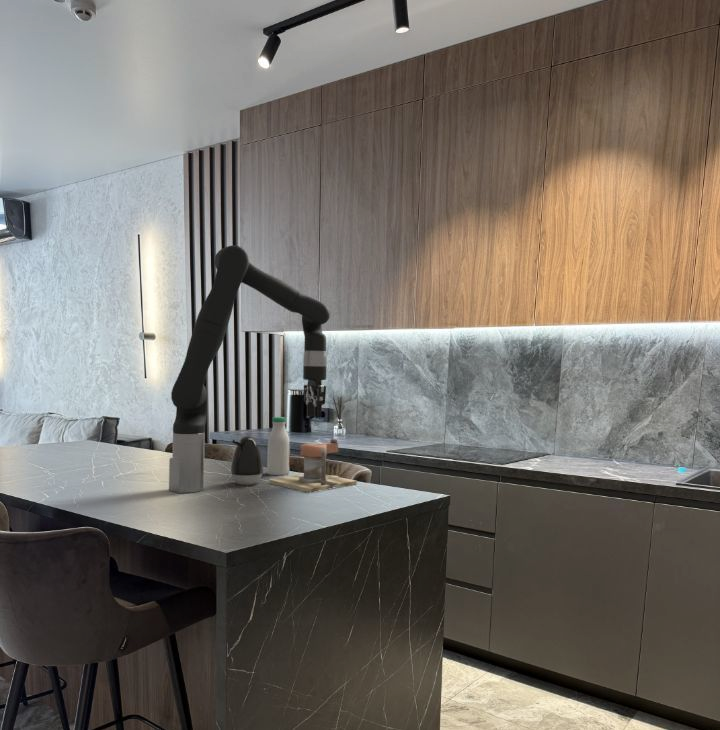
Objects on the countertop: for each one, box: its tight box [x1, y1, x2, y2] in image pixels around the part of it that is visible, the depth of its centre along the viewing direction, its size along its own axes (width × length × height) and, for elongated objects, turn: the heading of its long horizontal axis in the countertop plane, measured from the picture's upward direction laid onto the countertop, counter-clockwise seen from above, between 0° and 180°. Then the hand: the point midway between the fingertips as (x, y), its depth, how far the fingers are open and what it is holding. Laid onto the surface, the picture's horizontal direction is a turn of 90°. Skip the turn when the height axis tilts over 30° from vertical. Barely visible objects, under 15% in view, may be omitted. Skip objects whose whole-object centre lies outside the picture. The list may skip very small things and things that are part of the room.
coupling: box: [299, 438, 339, 457], centre depth 193 cm, size 14×8×4 cm, turn 135°
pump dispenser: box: [230, 436, 264, 486], centre depth 189 cm, size 10×10×15 cm
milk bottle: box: [266, 416, 291, 476], centre depth 209 cm, size 8×8×20 cm
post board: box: [268, 448, 358, 493], centre depth 191 cm, size 20×20×12 cm
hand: (314, 416), depth 191 cm, fingers open, 6 cm apart
